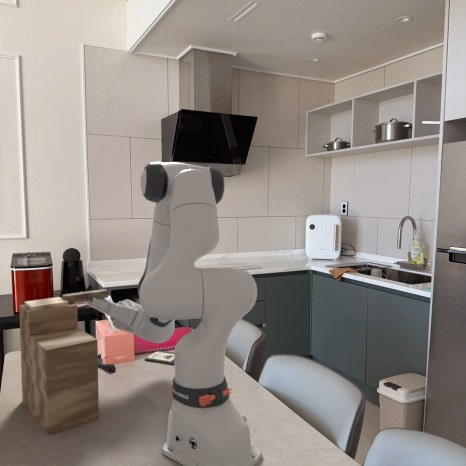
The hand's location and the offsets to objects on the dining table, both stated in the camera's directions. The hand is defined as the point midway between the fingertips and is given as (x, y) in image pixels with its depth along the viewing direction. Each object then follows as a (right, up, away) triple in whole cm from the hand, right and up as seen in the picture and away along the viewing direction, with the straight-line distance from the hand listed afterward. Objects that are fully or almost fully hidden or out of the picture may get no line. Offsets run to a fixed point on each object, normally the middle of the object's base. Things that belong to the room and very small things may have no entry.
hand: (85, 297), depth 124 cm
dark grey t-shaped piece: (-2, -26, +21) cm, 33 cm away
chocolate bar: (+21, -25, +27) cm, 43 cm away
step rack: (-4, -27, -9) cm, 29 cm away
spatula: (-4, -1, -3) cm, 5 cm away
